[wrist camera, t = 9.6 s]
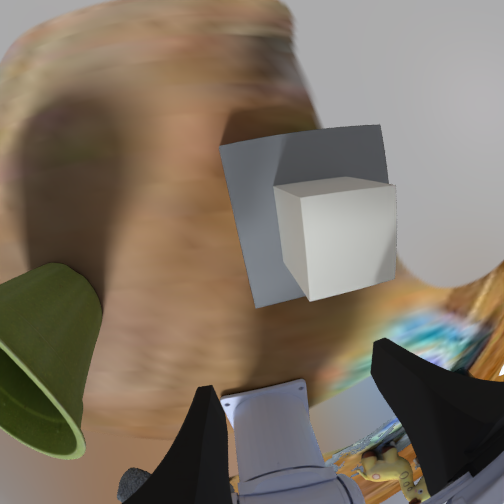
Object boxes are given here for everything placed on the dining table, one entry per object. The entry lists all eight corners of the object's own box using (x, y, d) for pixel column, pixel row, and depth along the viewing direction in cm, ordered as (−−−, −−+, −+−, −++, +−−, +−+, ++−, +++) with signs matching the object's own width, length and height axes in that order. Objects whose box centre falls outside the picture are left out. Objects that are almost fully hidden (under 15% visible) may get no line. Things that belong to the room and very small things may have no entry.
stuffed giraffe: (424, 431, 34) (457, 489, 19) (342, 478, 36) (362, 539, 21) (409, 401, 29) (457, 481, 14) (304, 460, 32) (324, 544, 17)
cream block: (350, 247, 17) (394, 278, 12) (283, 261, 16) (309, 301, 12) (346, 176, 15) (395, 185, 10) (273, 186, 15) (299, 197, 10)
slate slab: (372, 256, 20) (392, 270, 18) (250, 287, 20) (255, 308, 17) (358, 128, 17) (380, 124, 14) (219, 149, 17) (218, 146, 14)
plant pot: (1, 286, 17) (-69, 351, 6) (59, 200, 16) (-57, 250, 5) (82, 376, 21) (44, 466, 10) (160, 321, 19) (128, 447, 9)
